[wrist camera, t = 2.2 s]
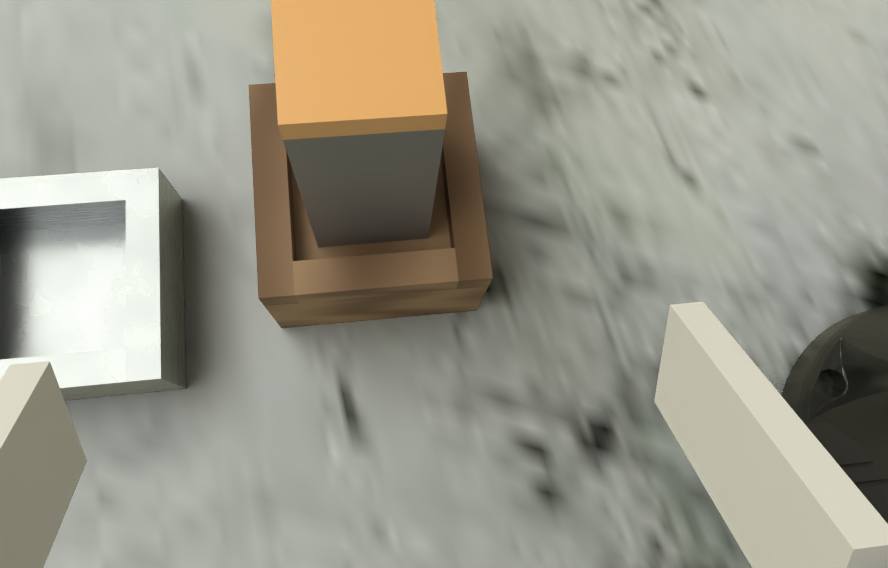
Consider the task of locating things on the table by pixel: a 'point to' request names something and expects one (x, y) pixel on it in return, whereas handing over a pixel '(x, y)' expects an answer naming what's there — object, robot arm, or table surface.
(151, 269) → the lower socket
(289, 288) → the upper socket
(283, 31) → the plug
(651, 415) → the table surface
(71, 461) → the robot arm
